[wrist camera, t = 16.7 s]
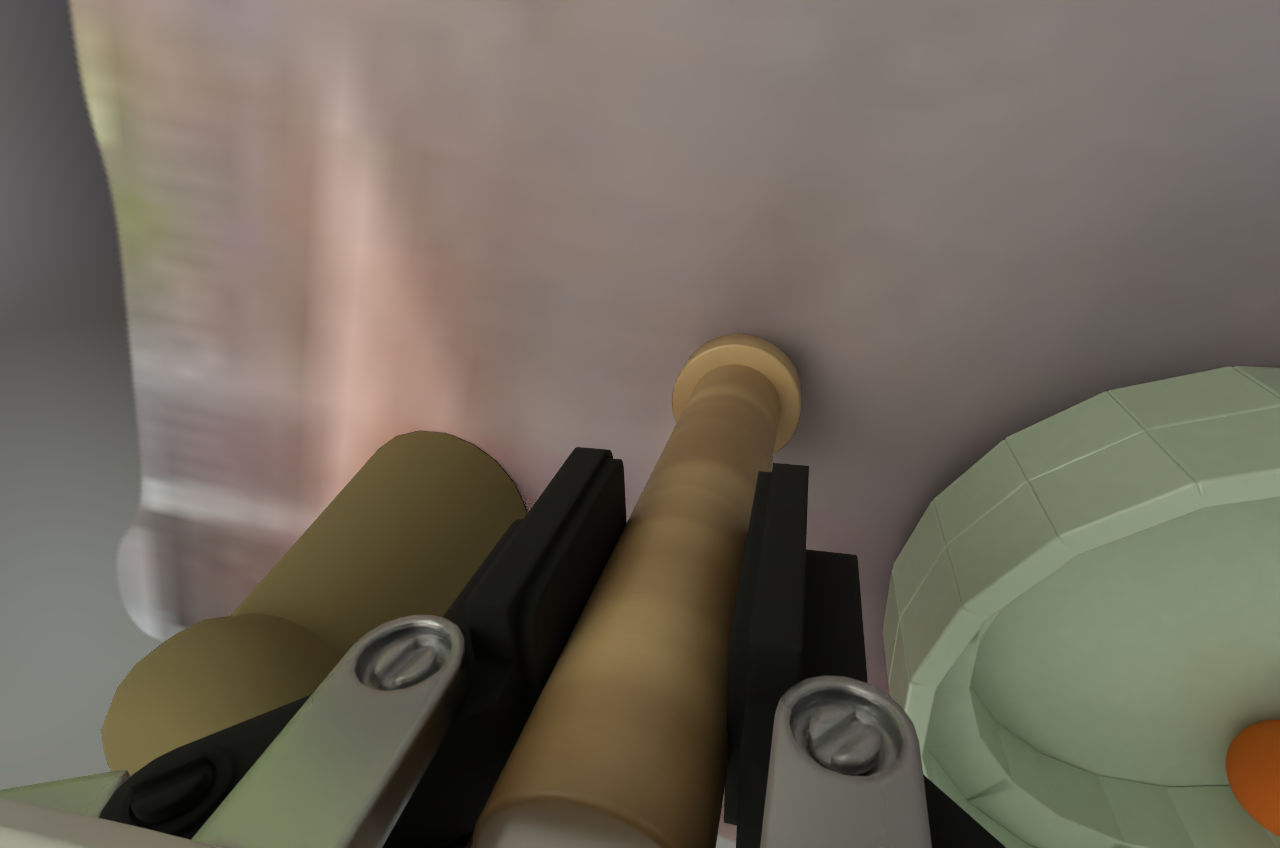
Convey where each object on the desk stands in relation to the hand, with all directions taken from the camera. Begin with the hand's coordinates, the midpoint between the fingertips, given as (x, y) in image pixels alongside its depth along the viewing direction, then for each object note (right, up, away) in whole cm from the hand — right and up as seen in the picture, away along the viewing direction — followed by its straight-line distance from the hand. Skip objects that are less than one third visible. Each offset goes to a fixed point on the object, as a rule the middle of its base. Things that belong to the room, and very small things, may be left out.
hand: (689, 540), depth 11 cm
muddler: (+2, +3, +7) cm, 8 cm away
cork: (-7, -1, +12) cm, 15 cm away
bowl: (+14, -4, +8) cm, 16 cm away
